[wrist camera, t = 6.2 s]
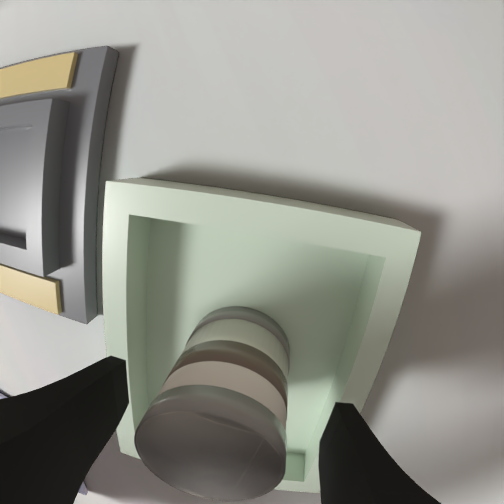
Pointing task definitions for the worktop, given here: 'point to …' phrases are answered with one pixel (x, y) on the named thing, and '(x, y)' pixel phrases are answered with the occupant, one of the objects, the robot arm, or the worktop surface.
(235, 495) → the cylinder
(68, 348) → the worktop surface
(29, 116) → the fuse holder
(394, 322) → the parts tray
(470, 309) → the worktop surface
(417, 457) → the worktop surface
